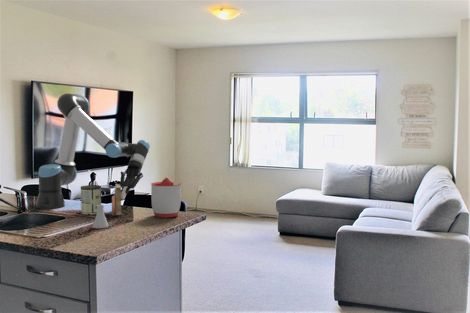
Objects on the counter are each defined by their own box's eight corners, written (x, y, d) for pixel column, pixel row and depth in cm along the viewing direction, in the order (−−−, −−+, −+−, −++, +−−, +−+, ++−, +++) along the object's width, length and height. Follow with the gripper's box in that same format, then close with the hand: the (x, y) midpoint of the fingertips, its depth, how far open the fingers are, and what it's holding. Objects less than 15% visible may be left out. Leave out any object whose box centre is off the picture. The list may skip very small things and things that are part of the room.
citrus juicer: (190, 215, 239) (190, 177, 238) (163, 220, 226) (164, 180, 225) (170, 211, 250) (170, 175, 248) (144, 215, 237) (144, 177, 235)
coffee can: (85, 210, 249) (85, 184, 248) (104, 211, 248) (104, 185, 247) (77, 214, 238) (77, 187, 237) (96, 214, 237) (96, 187, 236)
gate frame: (115, 210, 251) (115, 188, 250) (120, 210, 251) (120, 188, 250) (110, 215, 236) (110, 192, 235) (116, 215, 236) (116, 192, 235)
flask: (91, 226, 212) (91, 204, 211) (107, 225, 215) (107, 203, 214) (93, 229, 205) (93, 207, 204) (109, 228, 208) (109, 206, 207)
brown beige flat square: (115, 209, 247) (115, 183, 246) (119, 209, 248) (119, 183, 247) (116, 215, 233) (116, 187, 232) (121, 214, 233) (120, 187, 232)
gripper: (148, 168, 257) (135, 202, 242) (127, 167, 260) (113, 201, 245) (145, 159, 252) (131, 194, 237) (123, 158, 254) (108, 193, 239)
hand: (122, 197), depth 241 cm, fingers closed
